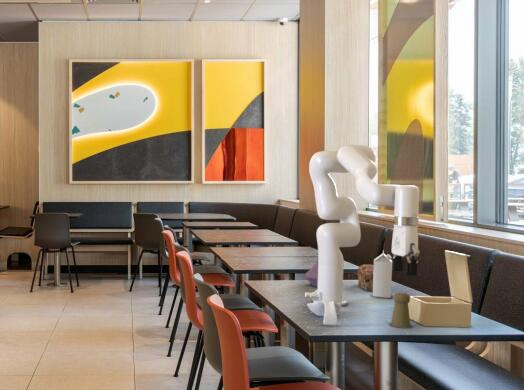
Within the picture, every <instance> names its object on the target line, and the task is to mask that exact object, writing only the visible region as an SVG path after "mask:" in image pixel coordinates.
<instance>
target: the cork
mask: <svg viewBox="0 0 524 390" xmlns="http://www.w3.org/2000/svg"><path fill="white" fill-rule="evenodd" d="M410 296H411V295H409V294H408V293H406V292H395V293H393V296H392V299H393V303H394V305H393V306H394V307H393V311H392V317H391V322H390V325H391V326H392V327H395V328H402V329H403V328H405V329H407V328H411V319H410V318H409V308H408V304H409V302H410Z"/></svg>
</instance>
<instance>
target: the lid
mask: <svg viewBox="0 0 524 390" xmlns="http://www.w3.org/2000/svg"><path fill="white" fill-rule="evenodd" d="M444 256H445V264H446V270H447V278H448V283H449V292H450V297H453V298H456V299H459V300H462V301H464V302H467V303H470V304H472V303H474V301H473V293H472V286H471V280H470V279H471V278H470V272H469V265H468V261H470V262H471V261H474V256H473V255H469V254H465V253H461V252H460V253H459V252H456V251H450V250H447V249H445V250H444Z"/></svg>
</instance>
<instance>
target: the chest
mask: <svg viewBox="0 0 524 390" xmlns="http://www.w3.org/2000/svg"><path fill="white" fill-rule="evenodd" d="M409 296H410V302H409V303H408V308H409V318H410V320H411V321H414V322H416V323H418V324H420V325H422V326H424V327H443V328H444V327H448V328H449V327H450V328H472V308H473V307H472V303H470V302H467V301H464V300H461V299H459V298H456V297H453V296H429V295H428V296H426V295H425V296H424V295H422V296H421V295H409Z"/></svg>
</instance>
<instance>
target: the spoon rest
mask: <svg viewBox="0 0 524 390" xmlns="http://www.w3.org/2000/svg"><path fill="white" fill-rule="evenodd" d="M306 305H307V308H308V309H309V311H310V312H312V313H313V314H314V315H315V316H318V317H323V323H322V324H323V325H324V326H339V320H338V319H339V317H338V314H337V313H339V312H340V311H341V308H342V306H341V305H339V304H337V303H336V302H334V301H331V302H326V301H319V302H315V303H314V302H307V303H306Z"/></svg>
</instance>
